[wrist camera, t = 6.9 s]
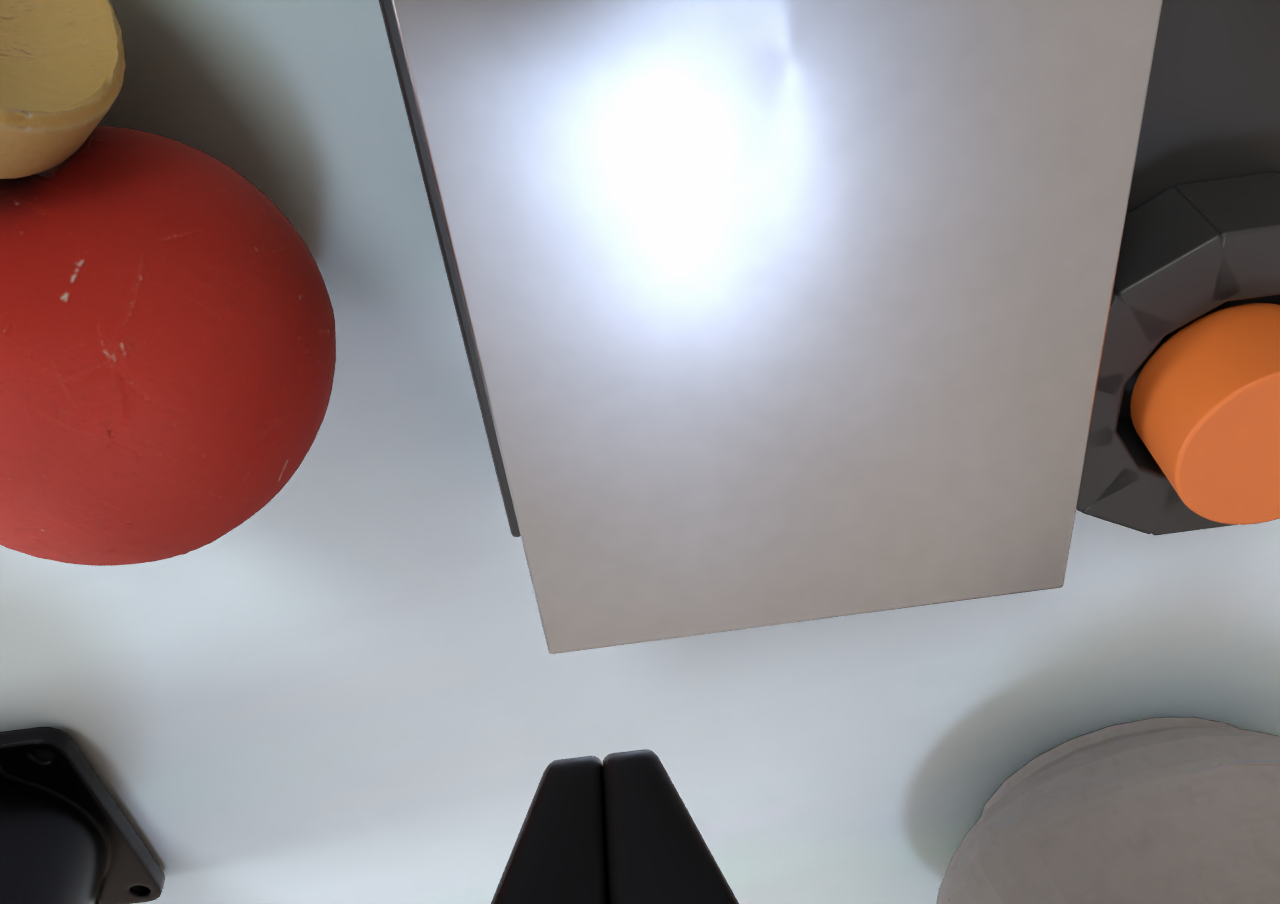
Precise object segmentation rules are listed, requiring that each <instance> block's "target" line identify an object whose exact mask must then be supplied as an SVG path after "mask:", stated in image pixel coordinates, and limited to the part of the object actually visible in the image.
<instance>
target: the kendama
mask: <svg viewBox="0 0 1280 904" xmlns="http://www.w3.org/2000/svg"><path fill="white" fill-rule="evenodd" d="M125 67H126V62H125V55H124V45H123V41H122V31H121V27H120V25H119V23H118V20H117V17H116V14H115V12H114V9H113V7H112V4H111V2H110V0H0V545H3V546H4V547H7V548H10V549H13V550H16V551H19V552H23V553H26V554H28V555H32V556H35V557H38V558H43V559H50V560H55V561H60V562H65V563H73V564H83V565H99V566H102V565H125V564H135V563H144V562H151V561H157V560H162V559H166V558H171V557H174V556H177V555H181V554H186V553H188V552H190V551H193V550H196V549H198V548H200V547H202V546H204V545H207V544H209V543H211V542H213V541H215V540H216V539H218V538H220V537H221V536H223V535H224V534H226V533H228V532H229V531H231V530H232V529H234V528H236V527H237V526H239V525H240V524H242V523H243V522H244V521H246V520H247V519H249V518H250V517H251V516H253V515H254V514H255V513H256V512H258V511H259V510H260V509H261V508H263V507H264V506H265V505H266V504H267V503H268V502H269V501H270V500H271V499H272V498H273V497H274V496H275V495H276V494H277V493H278V492H279V491H280V490H281V489H282V488H283V487H284V486H285V484H286V483H287V482H288V481H289V479H290V478H291V477H292V475H293V474H294V473H295V471H296V470H297V469H298V467H299V466H300V464H301V463H302V461H303V459H304V457H305V456H306V454H307V452H308V451H309V449H310V447H311V445H312V443H313V441H314V439H315V437H316V435H317V432H318V430H319V428H320V426H321V424H322V421H323V419H324V416H325V413H326V410H327V406H328V403H329V399H330V395H331V390H332V384H333V377H334V370H335V361H336V340H335V320H334V314H333V308H332V305H331V301H330V298H329V295H328V292H327V289H326V286H325V283H324V280H323V278H322V276H321V273H320V271H319V268H318V266H317V264H316V262H315V260H314V258H313V257H312V255H311V253H310V251H309V249H308V247H307V245H306V244H305V243H304V241H303V240H302V238H301V237H300V235H299V234H298V232H297V231H296V230H295V228H294V227H293V225H292V224H291V222H290V221H289V219H288V218H286V217H285V216H284V215H283V213H282V212H281V211H280V210H279V209H278V208H277V206H276V205H275V204H274V203H273V202H272V201H271V200H270V199H269V198H268V197H267V196H266V195H264V194H263V193H262V192H261V191H260V190H259V189H258V188H256V187H255V186H254V185H253V184H252V183H251V182H249V181H248V180H247V179H246V178H244V177H243V176H242V175H240V174H239V173H237V172H236V171H235V170H233V169H232V168H231V167H229V166H227V165H226V164H224V163H222V162H220V161H219V160H217V159H215V158H213V157H212V156H210V155H208V154H206V153H204V152H202V151H200V150H197V149H195V148H193V147H191V146H188V145H186V144H184V143H181V142H178V141H175V140H172V139H169V138H166V137H163V136H160V135H156V134H152V133H148V132H143V131H138V130H133V129H126V128H117V127H111V126H97V125H98V124H99V122H100V121H101V120H102V118H103V117H104V116H105V114H106V113H107V112H108V110H109V109H110V108H111V106H112V104H113V103H114V101H115V100H116V98H117V96H118V94H119V92H120V90H121V88H122V85H123V80H124V71H125Z"/></svg>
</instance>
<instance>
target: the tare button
mask: <svg viewBox="0 0 1280 904" xmlns="http://www.w3.org/2000/svg"><path fill="white" fill-rule="evenodd" d="M1130 408H1131V418H1132V422H1133V426H1134V428H1135V430H1136V432H1137V434H1138V435H1139V437H1140V438H1141V440H1142V441H1143V443H1144V444H1145V446H1146V447H1147V449H1148V450H1149V452H1150V453H1151V455H1152V456H1153V458H1154V459H1155V461H1156V462H1157V464H1158V465H1159V467H1160V468H1161V470H1162V471H1163V473H1164V474H1165V476H1166V477H1167V479H1168V480H1169V482H1170V483H1171V485H1172V486H1173V488H1174V490H1175V491H1176V493H1177V494H1178V496H1179V497H1180V498H1181V500H1182V501H1183V503H1184V504H1185V505H1186V506H1187V507H1188V508H1189V509H1190V510H1192V511H1193V512H1195V513H1196V514H1198V515H1200V516H1202V517H1204V518H1206V519H1209V520H1211V521H1215V522H1219V523H1225V524H1241V525H1244V524H1256V523H1262V522H1267V521H1272V520H1275V519H1279V518H1280V305H1277V304H1271V303H1247V304H1240V305H1235V306H1230V307H1227V308H1224V309H1220V310H1217V311H1215V312H1212V313H1210V314H1207V315H1205V316H1203V317H1201V318H1199V319H1197V320H1195V321H1193V322H1191V323H1190V324H1188V325H1186V326H1185V327H1183V328H1182V329H1180V330H1179V331H1178V332H1176V333H1175V334H1174V335H1172V336H1171V337H1170V338H1169V339H1168V340H1166V341H1165V342H1164V343H1163V344H1162V345H1161V346H1160V347H1159V348H1158V349H1157V350H1156V351H1155V352H1154V353H1153V355H1152V356H1151V357H1150V358H1149V360H1148V361H1147V362H1146V364H1145V365H1144V367H1143V369H1142V370H1141V372H1140V374H1139V376H1138V378H1137V380H1136V383H1135V385H1134V388H1133V392H1132V396H1131V405H1130Z"/></svg>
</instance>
